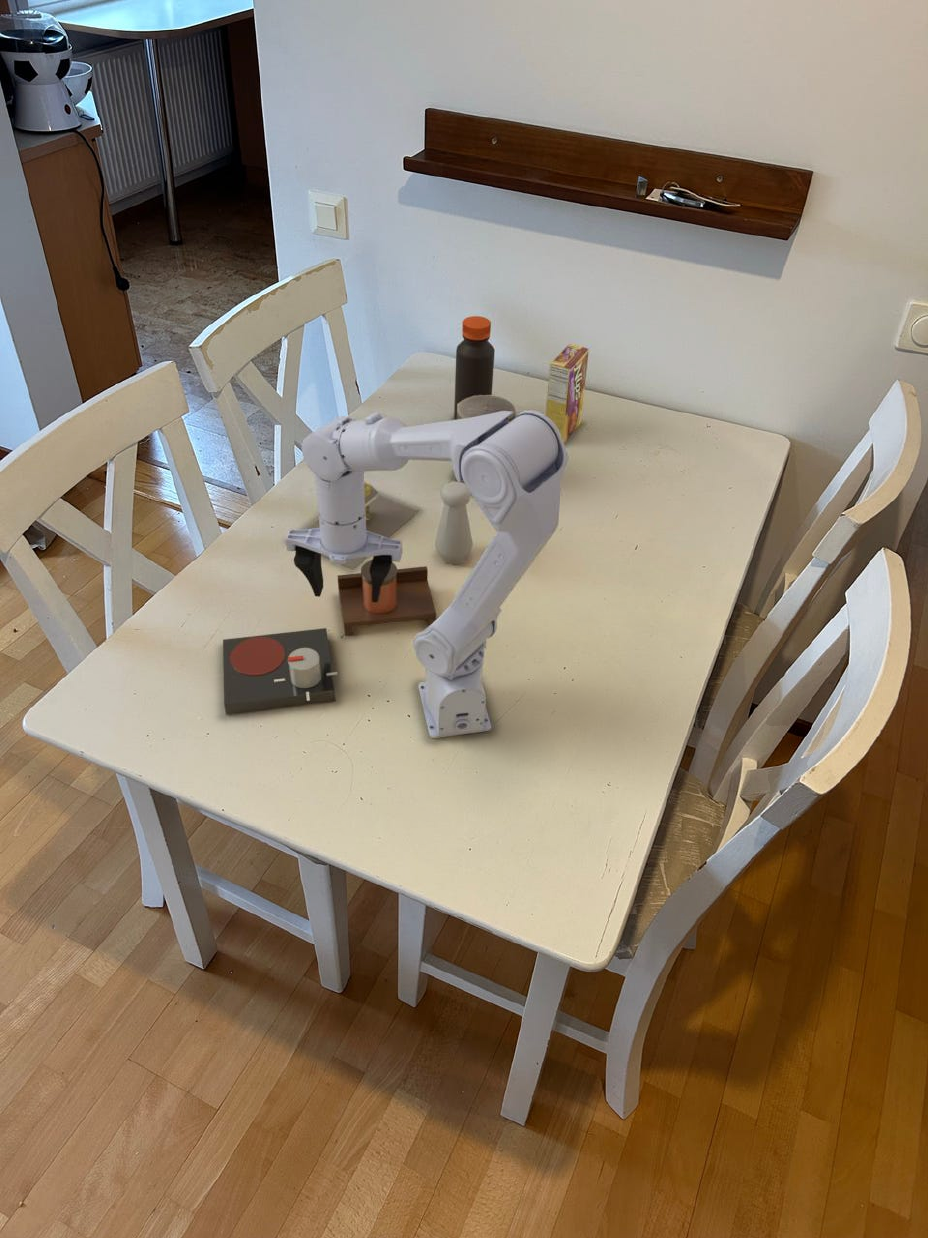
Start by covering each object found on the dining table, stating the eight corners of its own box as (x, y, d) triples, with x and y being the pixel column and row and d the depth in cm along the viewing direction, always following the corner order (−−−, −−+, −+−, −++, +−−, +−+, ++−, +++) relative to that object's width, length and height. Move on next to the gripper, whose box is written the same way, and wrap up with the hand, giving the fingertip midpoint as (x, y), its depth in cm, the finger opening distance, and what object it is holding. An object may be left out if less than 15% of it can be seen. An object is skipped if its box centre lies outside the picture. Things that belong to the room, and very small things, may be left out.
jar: (400, 612, 129) (399, 579, 125) (364, 615, 128) (363, 583, 124) (394, 588, 132) (394, 556, 128) (360, 592, 132) (358, 560, 127)
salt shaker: (467, 571, 140) (471, 501, 131) (431, 565, 141) (432, 495, 132) (475, 547, 144) (479, 478, 135) (439, 542, 145) (441, 473, 136)
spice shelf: (436, 625, 131) (436, 602, 128) (345, 636, 128) (343, 612, 125) (426, 589, 136) (426, 566, 133) (339, 598, 134) (337, 575, 131)
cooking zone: (286, 672, 120) (286, 671, 120) (230, 678, 119) (230, 678, 119) (283, 634, 125) (283, 634, 125) (229, 640, 124) (229, 640, 124)
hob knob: (319, 664, 121) (317, 644, 119) (322, 686, 118) (320, 666, 116) (289, 668, 121) (286, 647, 118) (291, 690, 118) (288, 669, 115)
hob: (341, 707, 119) (340, 695, 117) (226, 721, 116) (224, 710, 115) (331, 637, 128) (330, 626, 127) (224, 649, 126) (222, 638, 124)
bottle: (496, 421, 172) (503, 320, 158) (477, 437, 168) (483, 334, 154) (466, 410, 175) (470, 309, 161) (446, 425, 170) (449, 323, 157)
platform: (418, 511, 151) (418, 477, 146) (352, 569, 139) (350, 535, 135) (359, 487, 155) (357, 454, 150) (291, 541, 143) (287, 507, 139)
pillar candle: (506, 498, 154) (513, 420, 144) (449, 491, 155) (452, 413, 145) (513, 466, 161) (520, 390, 151) (458, 460, 162) (461, 383, 152)
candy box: (560, 417, 174) (569, 342, 164) (581, 423, 173) (591, 348, 162) (541, 439, 168) (549, 362, 158) (562, 445, 167) (572, 368, 156)
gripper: (275, 525, 109) (286, 609, 118) (395, 536, 108) (396, 620, 118) (290, 491, 114) (299, 574, 124) (404, 502, 113) (405, 585, 123)
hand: (347, 594), depth 121 cm, fingers open, 7 cm apart
